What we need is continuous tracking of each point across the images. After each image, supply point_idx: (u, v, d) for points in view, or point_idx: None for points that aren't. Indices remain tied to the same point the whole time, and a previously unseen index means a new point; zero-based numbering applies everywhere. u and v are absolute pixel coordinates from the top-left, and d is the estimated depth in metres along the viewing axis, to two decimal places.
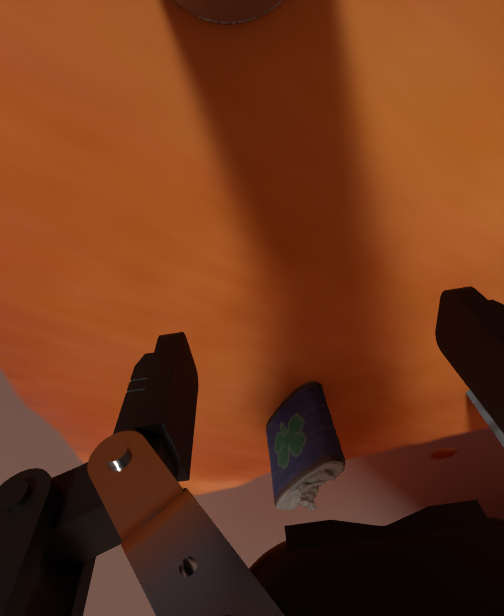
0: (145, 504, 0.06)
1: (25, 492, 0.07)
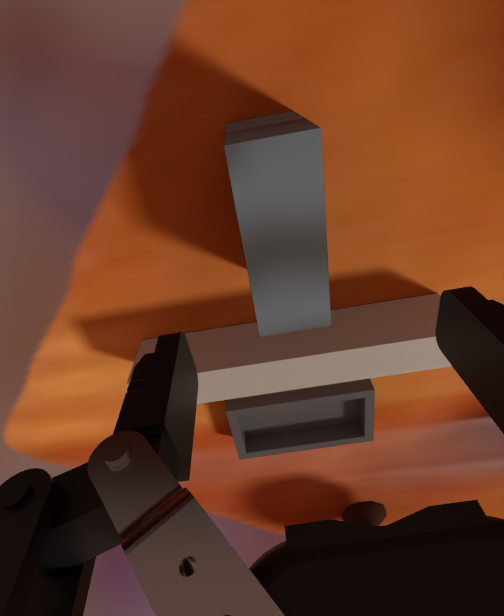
0: (145, 504, 0.06)
1: (25, 492, 0.07)
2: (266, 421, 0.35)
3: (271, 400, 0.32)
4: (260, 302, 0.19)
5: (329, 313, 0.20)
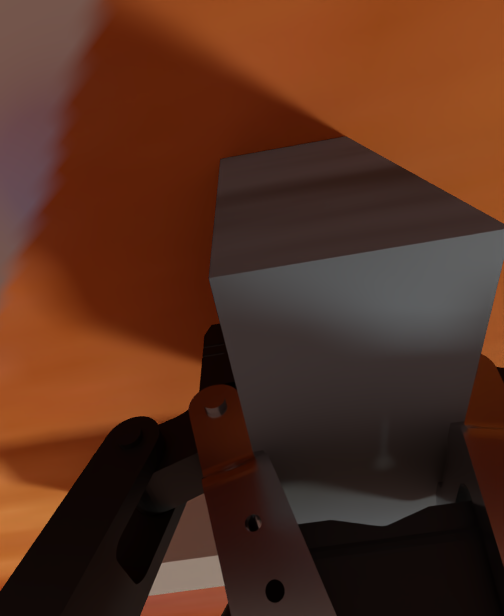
0: (229, 454, 0.07)
1: (138, 435, 0.08)
2: None
3: None
4: None
5: None
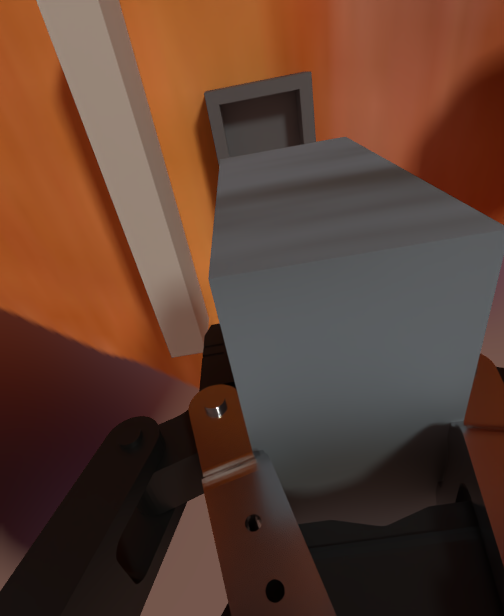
0: (229, 454, 0.07)
1: (138, 435, 0.08)
2: None
3: None
4: None
5: None
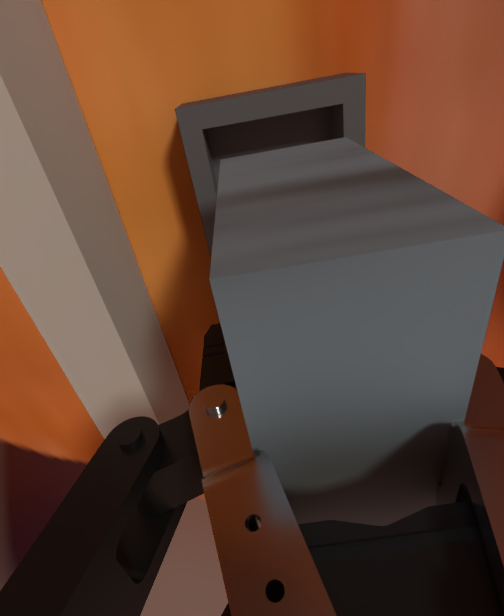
0: (229, 454, 0.07)
1: (138, 435, 0.08)
2: None
3: None
4: None
5: None
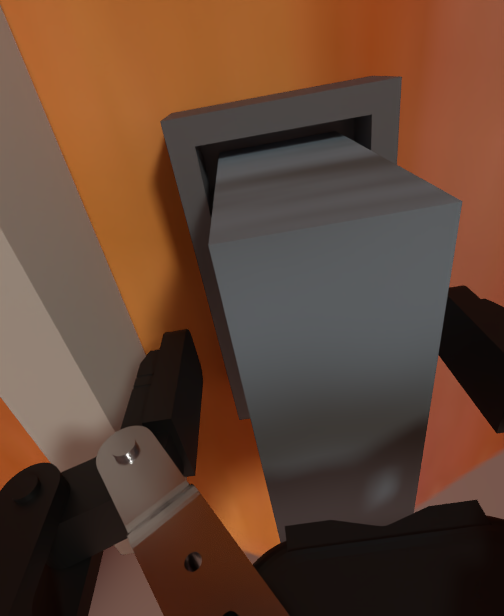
0: (152, 499, 0.07)
1: (35, 486, 0.07)
2: None
3: None
4: (284, 502, 0.10)
5: (411, 512, 0.11)
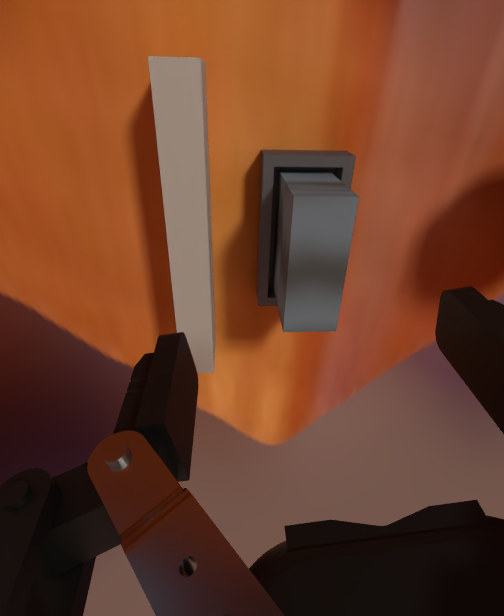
0: (145, 504, 0.06)
1: (25, 492, 0.07)
2: None
3: (259, 262, 0.32)
4: (290, 306, 0.26)
5: (336, 322, 0.27)
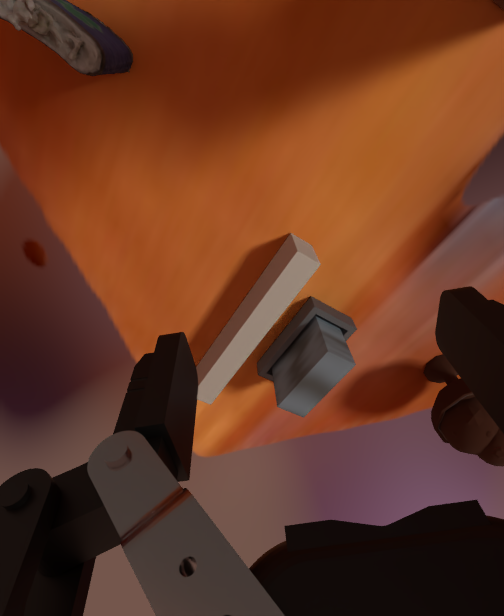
0: (145, 504, 0.06)
1: (25, 492, 0.07)
2: None
3: (274, 352, 0.49)
4: (290, 396, 0.44)
5: (307, 413, 0.45)
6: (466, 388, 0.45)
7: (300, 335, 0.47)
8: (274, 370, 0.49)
